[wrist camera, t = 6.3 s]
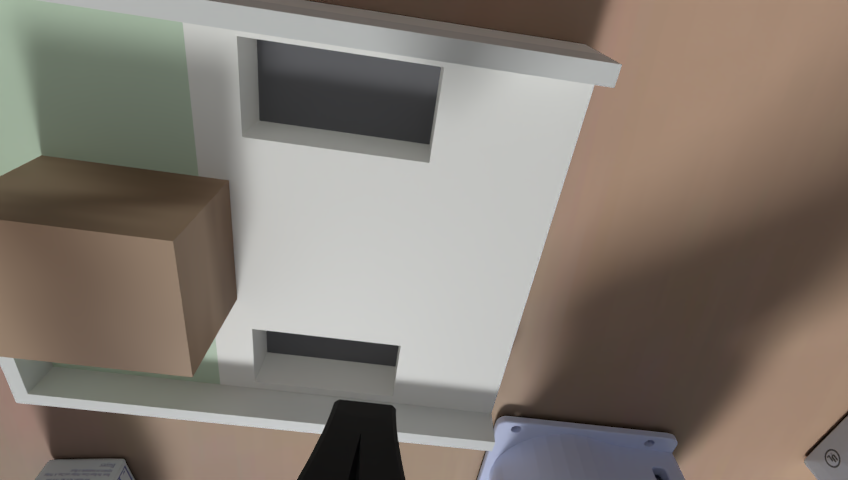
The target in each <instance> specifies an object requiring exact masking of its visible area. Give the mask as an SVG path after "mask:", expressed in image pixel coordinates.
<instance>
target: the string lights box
mask: <svg viewBox="0 0 848 480" xmlns="http://www.w3.org/2000/svg"><path fill="white" fill-rule="evenodd" d="M804 463H805V465H806V466H807V467H808V468H809V470H810V471H811V472H812V473H813V474H814V476H815V477H816V478H817V479H818V480H848V416H847V417H846V418H845V419H844V420H843V421H842V422H841V423H840V424H839V425H838V426H837V427H836V428H835V429H834V430H833V431H832V432H831V433H830V434H829V435H828V436H827V437H826V438H825V439H824V440H823V441H822V442H821V443H820V444H819V445H818V446H817V447H816V448H815V449H814V450H813V451H812V452H811V453H810V454H809V455H808V456H807V457H806V458H805V460H804Z"/></svg>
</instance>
